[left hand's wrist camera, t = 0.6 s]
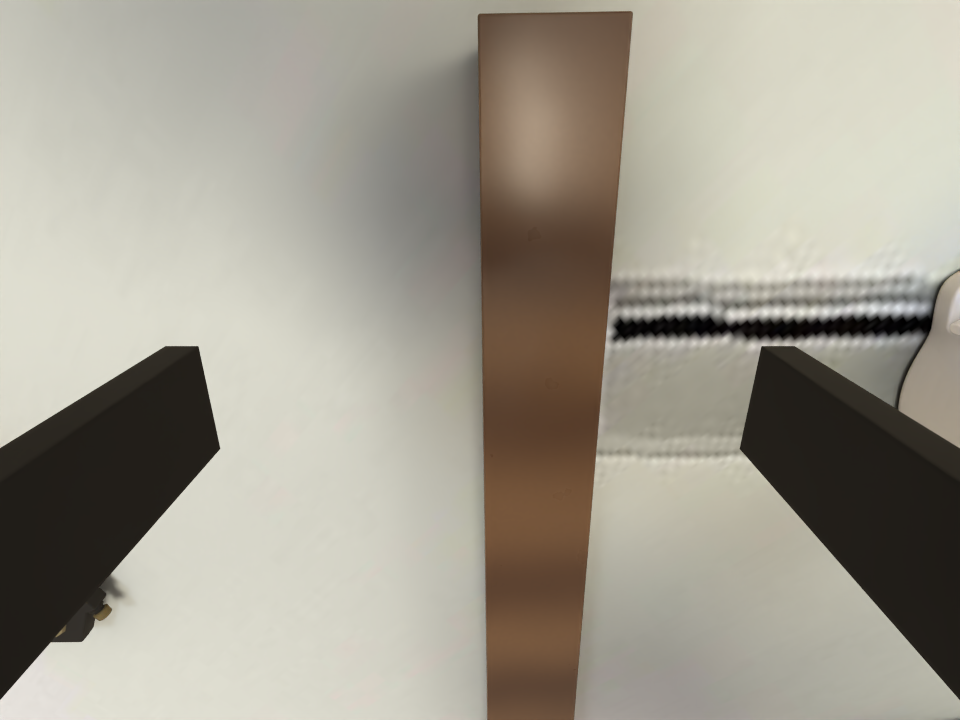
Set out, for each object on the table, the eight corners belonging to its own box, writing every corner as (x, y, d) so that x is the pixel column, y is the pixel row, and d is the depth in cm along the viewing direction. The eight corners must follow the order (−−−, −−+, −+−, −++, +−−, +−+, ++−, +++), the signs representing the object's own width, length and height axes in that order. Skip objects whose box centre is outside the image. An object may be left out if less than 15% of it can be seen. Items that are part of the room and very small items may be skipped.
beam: (477, 48, 26) (477, 13, 19) (591, 46, 26) (633, 10, 19) (487, 742, 46) (489, 850, 39) (550, 741, 46) (563, 849, 39)
